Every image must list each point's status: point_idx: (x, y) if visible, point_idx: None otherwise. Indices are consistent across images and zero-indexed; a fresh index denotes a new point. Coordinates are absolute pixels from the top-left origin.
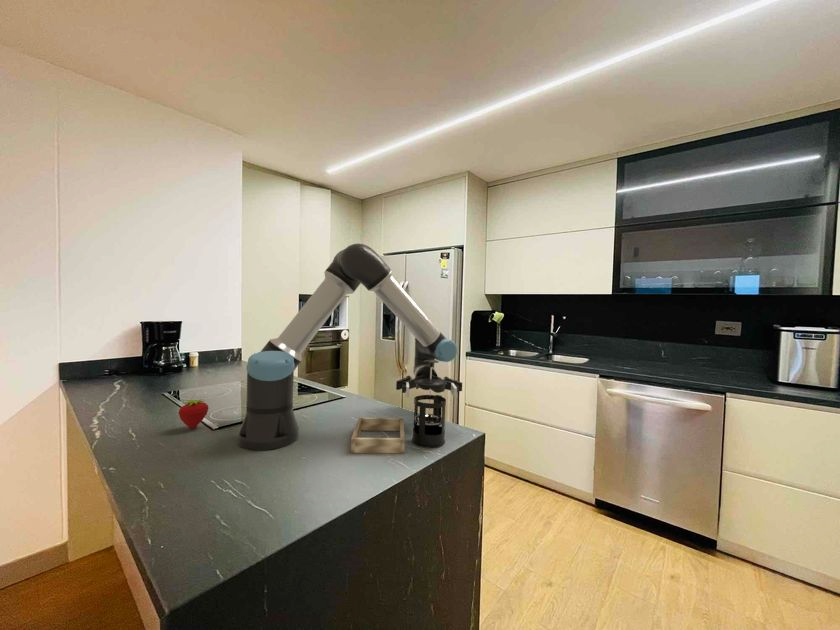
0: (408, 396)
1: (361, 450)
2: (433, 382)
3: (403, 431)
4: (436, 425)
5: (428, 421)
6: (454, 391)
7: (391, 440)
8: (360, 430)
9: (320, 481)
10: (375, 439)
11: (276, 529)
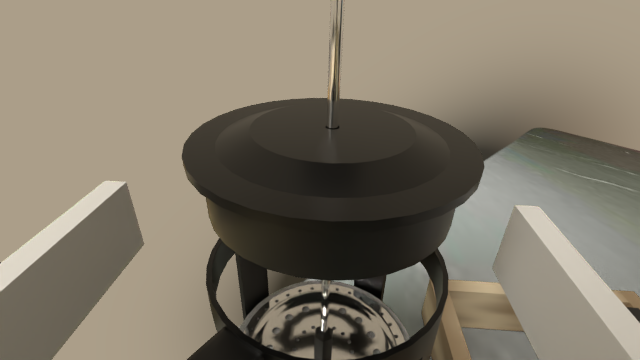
0: (496, 265)
1: None
2: (320, 105)
3: (454, 353)
4: None
5: (331, 323)
6: (131, 204)
7: (478, 284)
8: None
9: (566, 217)
10: None
11: (534, 158)
